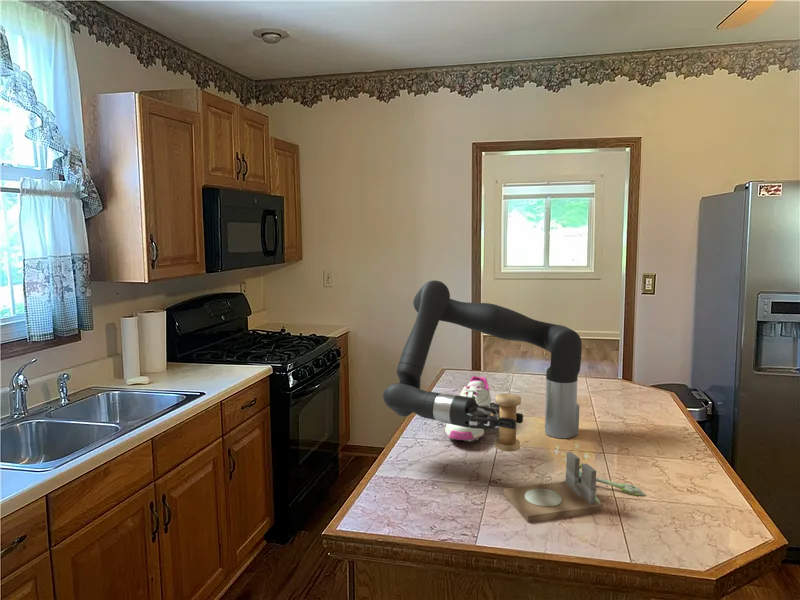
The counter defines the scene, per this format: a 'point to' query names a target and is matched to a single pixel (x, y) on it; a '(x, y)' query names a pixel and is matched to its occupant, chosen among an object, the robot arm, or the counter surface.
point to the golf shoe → (482, 396)
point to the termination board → (558, 495)
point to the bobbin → (508, 410)
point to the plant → (624, 487)
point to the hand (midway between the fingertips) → (518, 421)
